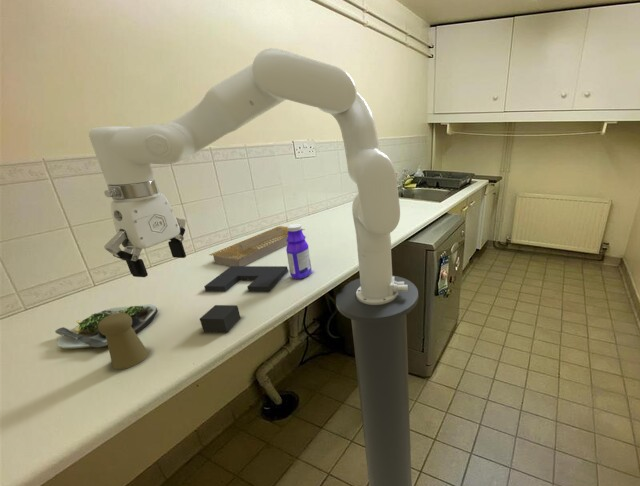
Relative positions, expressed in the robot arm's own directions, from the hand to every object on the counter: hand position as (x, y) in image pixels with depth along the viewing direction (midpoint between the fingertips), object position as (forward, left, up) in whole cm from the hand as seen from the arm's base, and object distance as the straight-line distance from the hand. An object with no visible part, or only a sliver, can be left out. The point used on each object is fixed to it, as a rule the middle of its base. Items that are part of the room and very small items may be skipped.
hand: (161, 266), depth 70 cm
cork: (+6, +9, -18) cm, 21 cm away
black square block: (-7, -3, -18) cm, 20 cm away
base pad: (-1, -27, -18) cm, 33 cm away
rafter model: (+8, -54, -18) cm, 57 cm away
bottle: (-17, -31, -18) cm, 40 cm away
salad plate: (+20, -1, -18) cm, 27 cm away
